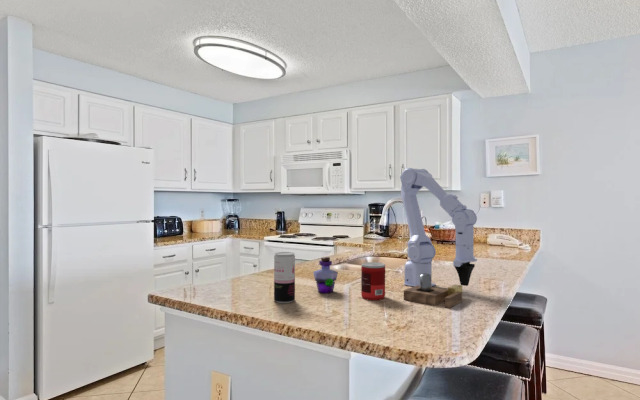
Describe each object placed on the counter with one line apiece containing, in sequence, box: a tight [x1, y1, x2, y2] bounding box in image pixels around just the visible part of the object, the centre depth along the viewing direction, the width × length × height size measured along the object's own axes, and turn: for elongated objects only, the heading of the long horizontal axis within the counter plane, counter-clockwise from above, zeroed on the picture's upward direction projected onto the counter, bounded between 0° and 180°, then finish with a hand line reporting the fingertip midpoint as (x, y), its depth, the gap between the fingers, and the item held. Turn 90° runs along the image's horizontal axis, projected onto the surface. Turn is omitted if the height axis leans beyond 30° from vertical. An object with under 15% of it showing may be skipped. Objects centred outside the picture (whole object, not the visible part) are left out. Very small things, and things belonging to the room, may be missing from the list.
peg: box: [420, 273, 431, 293], centre depth 127 cm, size 4×4×8 cm
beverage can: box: [273, 251, 296, 304], centre depth 125 cm, size 6×6×15 cm
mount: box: [403, 285, 463, 309], centre depth 125 cm, size 15×10×3 cm, turn 50°
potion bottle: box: [312, 256, 338, 295], centre depth 137 cm, size 9×9×12 cm
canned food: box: [360, 261, 386, 301], centre depth 129 cm, size 8×8×11 cm
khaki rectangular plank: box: [447, 284, 463, 296], centre depth 128 cm, size 2×6×4 cm, turn 140°
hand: (464, 285), depth 134 cm, fingers closed
